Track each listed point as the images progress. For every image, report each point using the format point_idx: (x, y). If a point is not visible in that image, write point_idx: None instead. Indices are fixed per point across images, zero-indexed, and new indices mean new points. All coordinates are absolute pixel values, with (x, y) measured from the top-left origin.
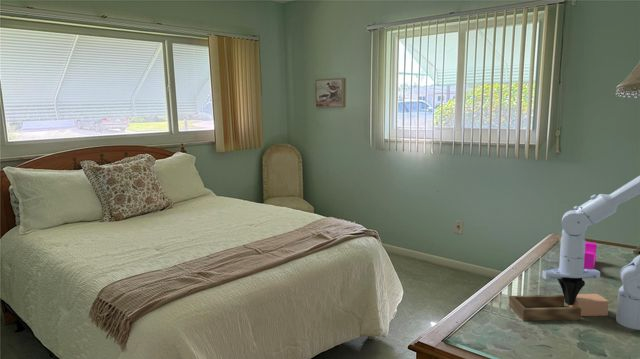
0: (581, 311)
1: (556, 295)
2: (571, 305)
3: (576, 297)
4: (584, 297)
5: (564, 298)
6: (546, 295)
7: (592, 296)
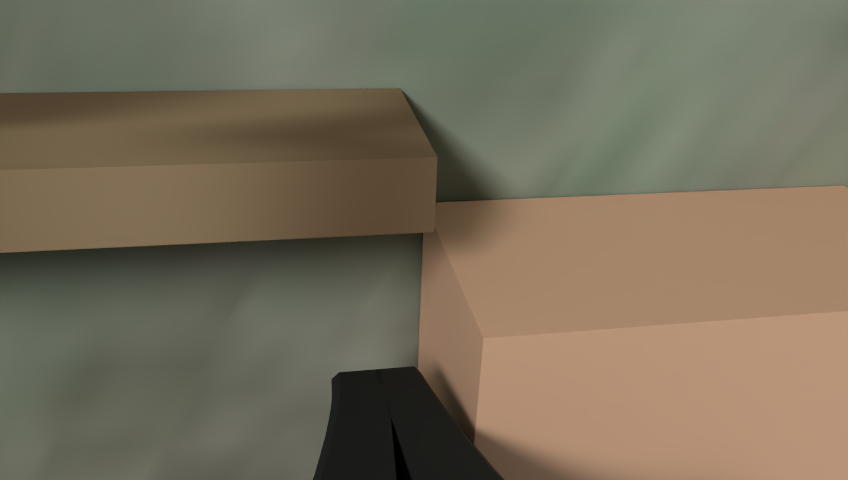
0: None
1: (275, 190)
2: (437, 344)
3: (540, 469)
4: (680, 458)
5: (331, 414)
6: (18, 192)
7: (845, 414)
